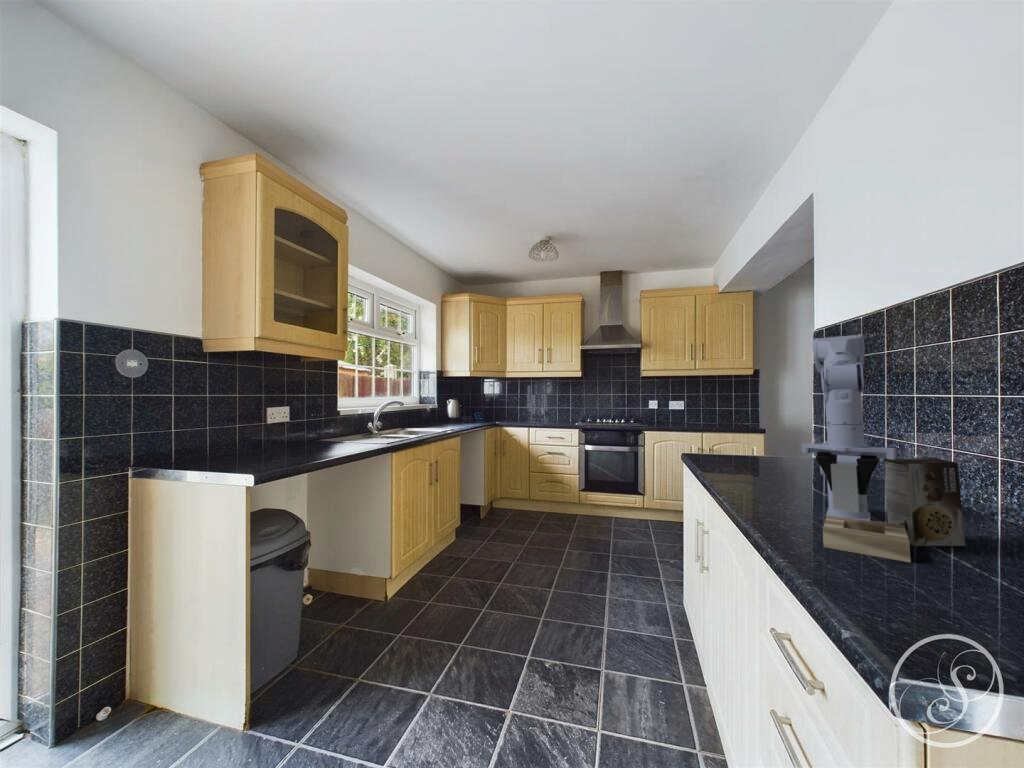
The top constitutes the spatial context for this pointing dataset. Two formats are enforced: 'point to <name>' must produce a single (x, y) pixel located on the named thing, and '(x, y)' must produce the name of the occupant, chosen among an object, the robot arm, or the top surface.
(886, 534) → the block
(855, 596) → the top surface
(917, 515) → the coffee box
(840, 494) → the grey brushed square bar
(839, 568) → the top surface
